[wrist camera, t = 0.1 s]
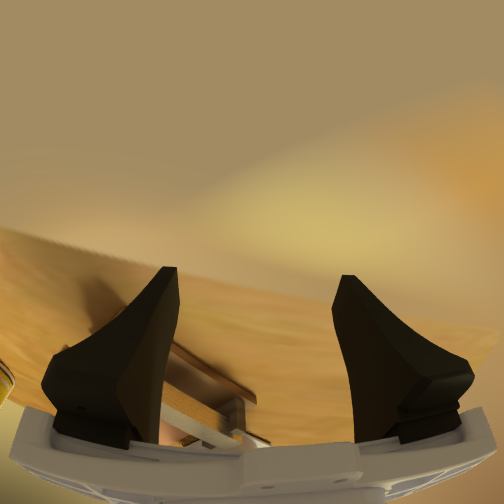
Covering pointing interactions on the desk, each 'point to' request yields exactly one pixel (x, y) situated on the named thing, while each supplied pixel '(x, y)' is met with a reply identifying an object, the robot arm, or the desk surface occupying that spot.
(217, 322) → the desk surface
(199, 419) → the steel rail
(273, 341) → the desk surface
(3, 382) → the supplement bottle
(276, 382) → the desk surface
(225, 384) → the hook stand
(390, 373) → the robot arm
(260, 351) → the desk surface
